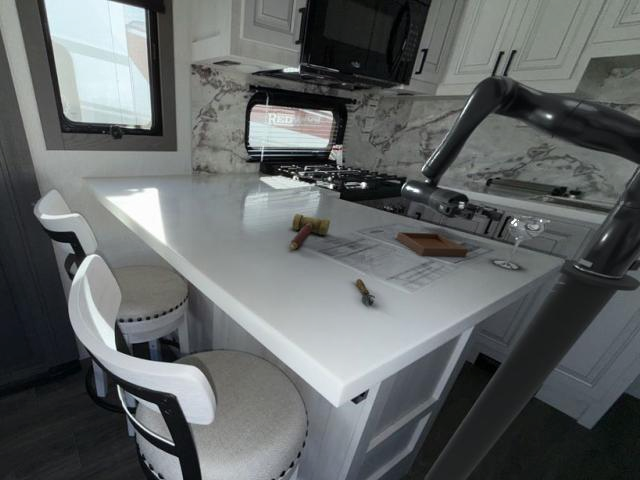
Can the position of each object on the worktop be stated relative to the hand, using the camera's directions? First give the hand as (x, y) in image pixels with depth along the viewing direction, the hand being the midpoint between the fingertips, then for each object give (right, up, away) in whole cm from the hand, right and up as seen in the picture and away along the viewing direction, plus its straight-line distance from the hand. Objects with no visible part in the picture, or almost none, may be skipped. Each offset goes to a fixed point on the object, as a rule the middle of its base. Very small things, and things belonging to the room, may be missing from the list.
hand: (486, 217), depth 84 cm
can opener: (-44, -22, -24) cm, 54 cm away
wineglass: (+1, -14, -5) cm, 15 cm away
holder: (-14, -8, +2) cm, 16 cm away
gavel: (-50, -6, +1) cm, 51 cm away
